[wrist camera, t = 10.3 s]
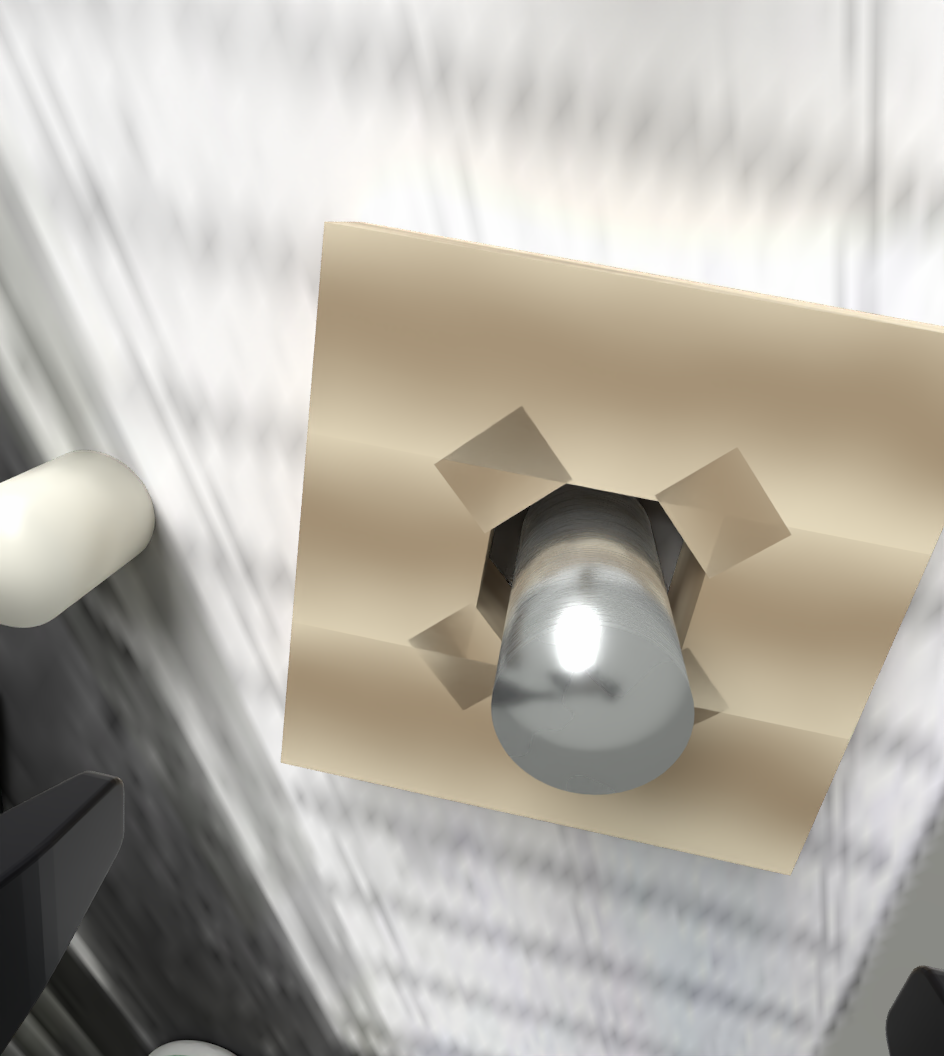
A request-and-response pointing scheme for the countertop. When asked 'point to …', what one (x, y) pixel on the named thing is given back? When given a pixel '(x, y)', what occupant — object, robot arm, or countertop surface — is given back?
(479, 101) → the countertop surface
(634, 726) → the tall steel pin
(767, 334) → the hole board
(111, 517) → the short cream pin
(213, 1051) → the supplement bottle
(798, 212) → the countertop surface
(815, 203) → the countertop surface
